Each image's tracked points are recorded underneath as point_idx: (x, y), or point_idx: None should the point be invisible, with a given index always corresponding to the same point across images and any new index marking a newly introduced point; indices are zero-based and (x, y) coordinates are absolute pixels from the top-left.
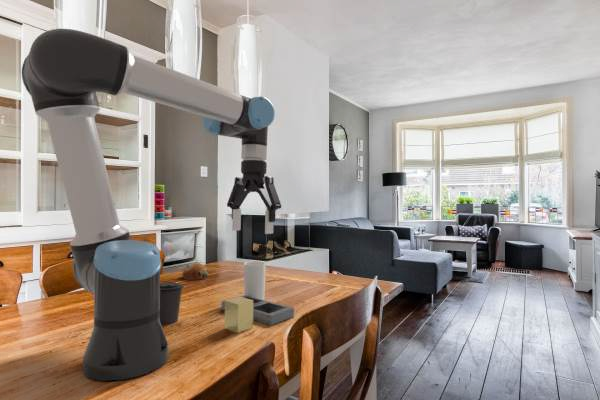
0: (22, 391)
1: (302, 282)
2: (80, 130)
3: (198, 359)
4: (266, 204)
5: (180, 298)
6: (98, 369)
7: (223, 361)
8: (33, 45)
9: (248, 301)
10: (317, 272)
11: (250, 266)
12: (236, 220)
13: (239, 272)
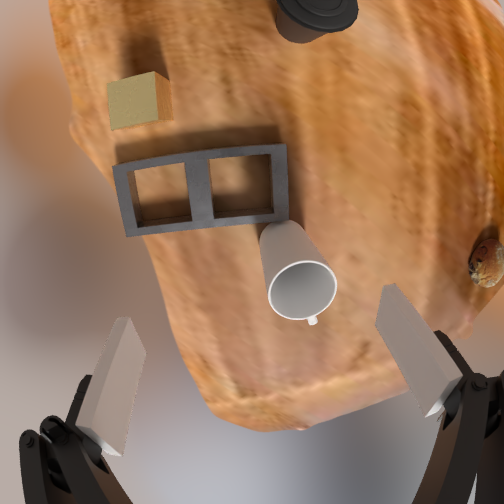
0: None
1: (306, 379)
2: None
3: (96, 7)
4: (80, 469)
5: (293, 27)
6: None
7: (67, 34)
8: None
9: (109, 114)
10: (327, 418)
11: (288, 263)
12: (406, 339)
13: None
